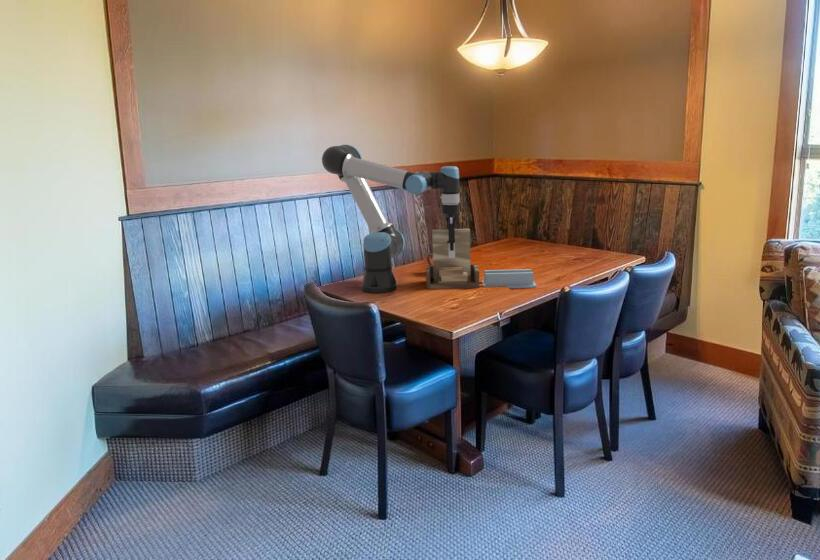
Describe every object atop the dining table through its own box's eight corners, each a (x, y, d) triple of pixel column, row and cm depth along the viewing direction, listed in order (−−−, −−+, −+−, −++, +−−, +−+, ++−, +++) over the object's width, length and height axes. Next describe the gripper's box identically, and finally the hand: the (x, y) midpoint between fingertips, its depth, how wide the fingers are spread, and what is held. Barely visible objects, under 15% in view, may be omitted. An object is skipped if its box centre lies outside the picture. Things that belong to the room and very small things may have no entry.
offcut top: (438, 273, 262) (438, 267, 261) (462, 272, 262) (462, 266, 261) (439, 275, 257) (439, 270, 256) (463, 275, 257) (463, 269, 256)
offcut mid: (441, 278, 262) (441, 272, 262) (466, 277, 262) (466, 272, 261) (441, 281, 258) (441, 275, 257) (467, 280, 257) (467, 275, 257)
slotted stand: (481, 282, 267) (481, 269, 265) (532, 281, 266) (532, 268, 264) (483, 288, 257) (483, 275, 256) (536, 287, 256) (536, 273, 255)
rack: (426, 282, 270) (426, 265, 268) (477, 281, 269) (476, 263, 267) (426, 291, 257) (426, 272, 255) (479, 290, 256) (479, 271, 254)
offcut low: (438, 284, 263) (438, 278, 263) (466, 283, 263) (466, 278, 262) (438, 287, 258) (438, 281, 258) (466, 286, 258) (466, 280, 257)
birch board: (433, 281, 268) (432, 229, 262) (470, 280, 267) (469, 228, 261) (433, 282, 266) (432, 230, 260) (470, 281, 265) (470, 229, 260)
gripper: (441, 200, 269) (442, 250, 275) (442, 207, 247) (443, 261, 253) (458, 200, 269) (459, 249, 275) (460, 207, 247) (461, 260, 252)
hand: (451, 255), depth 264 cm, fingers open, 10 cm apart
